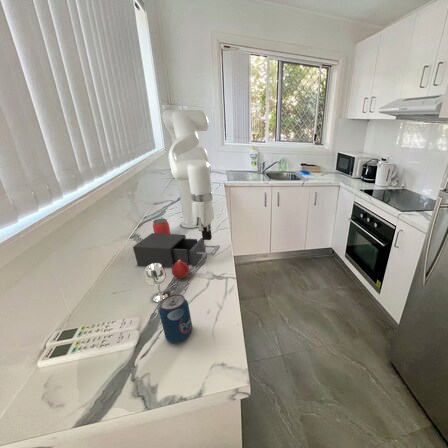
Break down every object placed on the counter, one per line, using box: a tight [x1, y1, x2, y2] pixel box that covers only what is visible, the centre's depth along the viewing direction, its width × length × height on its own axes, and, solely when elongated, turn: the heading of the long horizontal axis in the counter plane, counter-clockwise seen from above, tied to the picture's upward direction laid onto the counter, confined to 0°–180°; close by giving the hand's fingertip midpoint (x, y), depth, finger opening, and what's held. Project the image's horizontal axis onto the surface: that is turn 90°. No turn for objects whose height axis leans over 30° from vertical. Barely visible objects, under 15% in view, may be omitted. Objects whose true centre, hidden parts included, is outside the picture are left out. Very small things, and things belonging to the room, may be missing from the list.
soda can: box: [158, 293, 194, 345], centre depth 66 cm, size 7×7×12 cm
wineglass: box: [144, 263, 169, 303], centre depth 80 cm, size 6×6×12 cm
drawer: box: [171, 237, 221, 267], centre depth 102 cm, size 21×12×7 cm, turn 88°
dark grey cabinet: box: [132, 232, 187, 268], centre depth 103 cm, size 15×13×9 cm
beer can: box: [152, 218, 172, 234], centre depth 114 cm, size 7×7×12 cm
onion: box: [171, 260, 190, 279], centre depth 91 cm, size 6×6×8 cm
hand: (207, 239), depth 100 cm, fingers closed
